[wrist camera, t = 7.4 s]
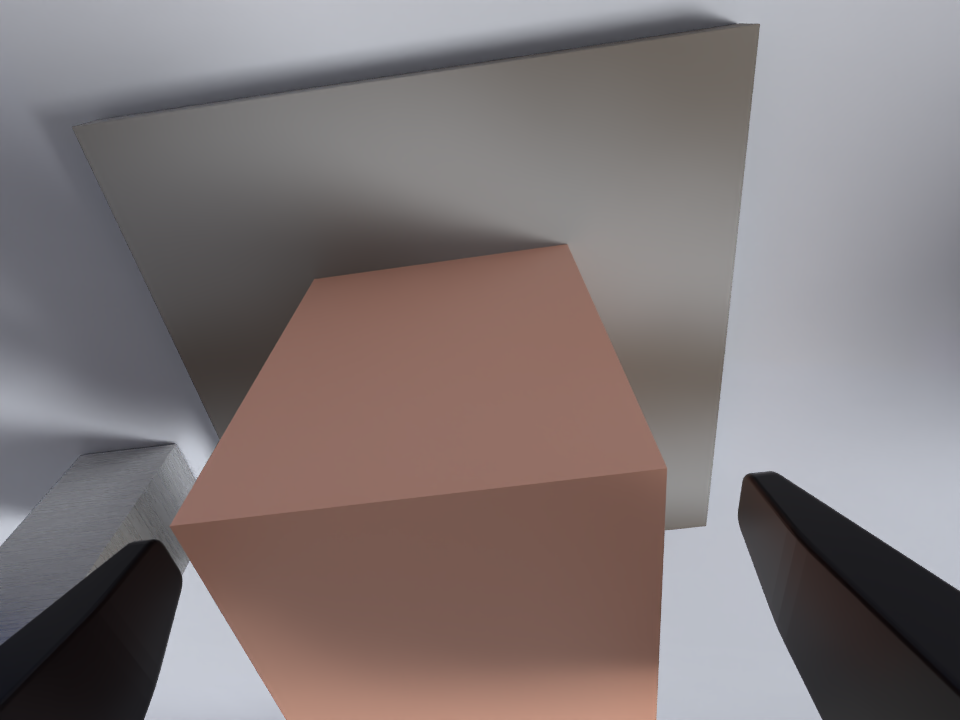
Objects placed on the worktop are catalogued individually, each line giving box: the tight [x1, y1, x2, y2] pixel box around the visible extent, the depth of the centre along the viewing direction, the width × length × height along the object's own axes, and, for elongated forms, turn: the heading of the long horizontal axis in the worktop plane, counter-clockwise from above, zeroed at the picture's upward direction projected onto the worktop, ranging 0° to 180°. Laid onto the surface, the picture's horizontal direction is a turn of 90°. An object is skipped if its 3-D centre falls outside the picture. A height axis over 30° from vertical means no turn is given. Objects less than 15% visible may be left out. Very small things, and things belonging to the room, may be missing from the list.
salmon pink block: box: [170, 244, 667, 720], centre depth 10 cm, size 5×5×7 cm
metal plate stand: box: [72, 24, 760, 530], centre depth 11 cm, size 12×12×6 cm
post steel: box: [0, 444, 196, 645], centre depth 13 cm, size 3×3×6 cm
